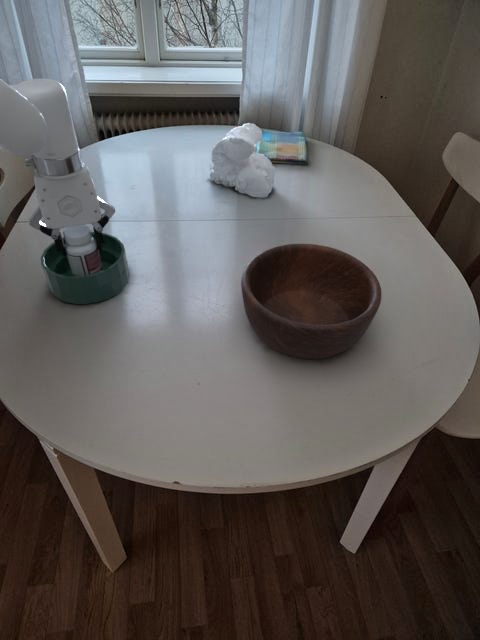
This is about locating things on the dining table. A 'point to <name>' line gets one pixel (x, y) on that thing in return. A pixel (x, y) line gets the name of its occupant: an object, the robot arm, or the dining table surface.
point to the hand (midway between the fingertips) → (81, 249)
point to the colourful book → (284, 147)
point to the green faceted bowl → (87, 285)
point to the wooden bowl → (309, 299)
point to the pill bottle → (82, 250)
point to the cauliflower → (242, 162)
